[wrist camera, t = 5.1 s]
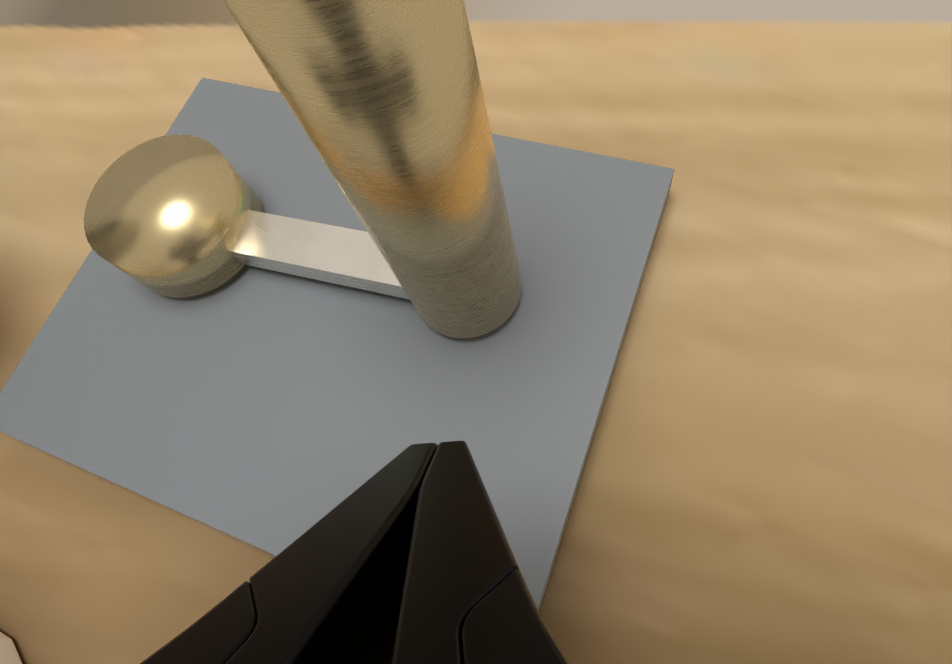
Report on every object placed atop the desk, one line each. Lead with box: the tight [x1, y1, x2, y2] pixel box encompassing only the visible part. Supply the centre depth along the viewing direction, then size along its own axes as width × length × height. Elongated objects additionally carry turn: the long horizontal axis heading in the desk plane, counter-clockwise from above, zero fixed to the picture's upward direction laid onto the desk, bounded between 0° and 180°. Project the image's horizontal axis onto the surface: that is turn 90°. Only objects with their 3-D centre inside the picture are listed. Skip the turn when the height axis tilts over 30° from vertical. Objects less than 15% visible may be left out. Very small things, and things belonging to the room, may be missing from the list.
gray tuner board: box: [0, 78, 674, 611], centre depth 18 cm, size 17×14×1 cm
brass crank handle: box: [84, 0, 522, 338], centre depth 12 cm, size 13×4×13 cm, turn 73°
